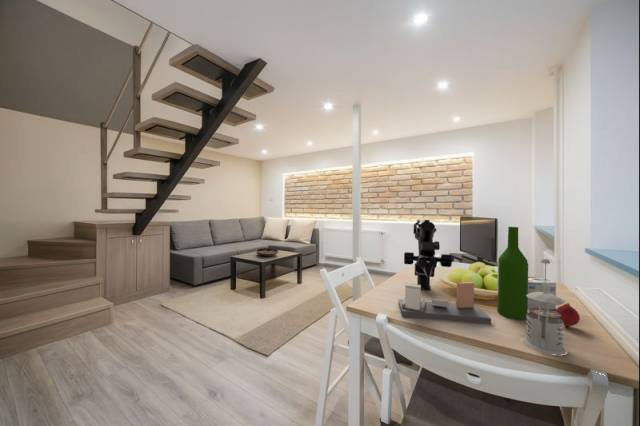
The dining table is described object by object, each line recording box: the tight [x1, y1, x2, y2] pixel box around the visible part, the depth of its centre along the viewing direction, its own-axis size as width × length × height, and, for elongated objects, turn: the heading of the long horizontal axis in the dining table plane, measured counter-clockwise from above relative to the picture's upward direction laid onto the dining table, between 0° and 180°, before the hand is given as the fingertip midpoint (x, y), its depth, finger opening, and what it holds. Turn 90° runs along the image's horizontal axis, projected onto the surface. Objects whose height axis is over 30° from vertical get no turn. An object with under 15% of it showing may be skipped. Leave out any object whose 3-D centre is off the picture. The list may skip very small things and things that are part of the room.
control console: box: [397, 298, 492, 325], centre depth 93 cm, size 12×29×4 cm, turn 78°
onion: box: [555, 302, 581, 328], centre depth 83 cm, size 6×6×8 cm
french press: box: [521, 258, 567, 355], centre depth 70 cm, size 10×12×25 cm
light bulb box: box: [528, 277, 557, 310], centre depth 100 cm, size 11×7×11 cm, turn 84°
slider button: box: [404, 282, 422, 310], centre depth 93 cm, size 3×5×8 cm, turn 62°
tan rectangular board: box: [456, 281, 475, 309], centre depth 93 cm, size 1×6×10 cm, turn 95°
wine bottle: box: [496, 226, 529, 321], centre depth 92 cm, size 9×9×32 cm
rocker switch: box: [431, 298, 450, 306], centre depth 94 cm, size 4×5×2 cm
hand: (428, 276), depth 101 cm, fingers closed
